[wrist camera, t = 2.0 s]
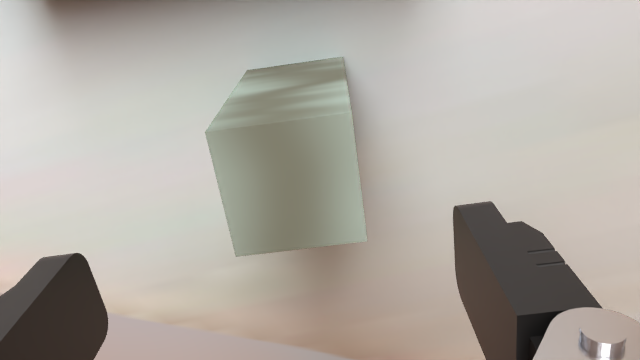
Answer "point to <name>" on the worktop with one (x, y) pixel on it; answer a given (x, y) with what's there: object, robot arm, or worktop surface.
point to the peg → (289, 159)
